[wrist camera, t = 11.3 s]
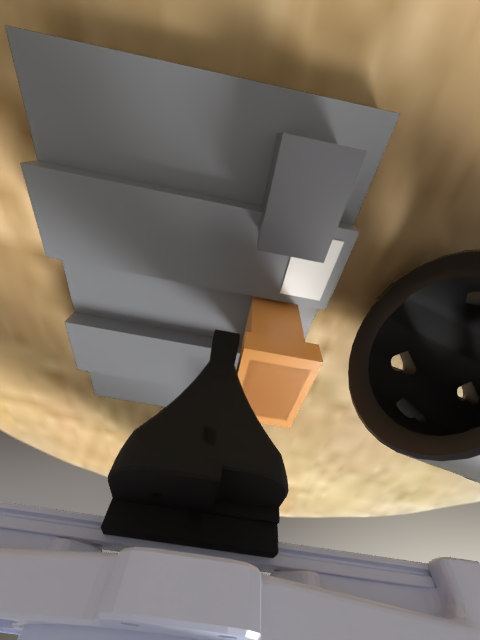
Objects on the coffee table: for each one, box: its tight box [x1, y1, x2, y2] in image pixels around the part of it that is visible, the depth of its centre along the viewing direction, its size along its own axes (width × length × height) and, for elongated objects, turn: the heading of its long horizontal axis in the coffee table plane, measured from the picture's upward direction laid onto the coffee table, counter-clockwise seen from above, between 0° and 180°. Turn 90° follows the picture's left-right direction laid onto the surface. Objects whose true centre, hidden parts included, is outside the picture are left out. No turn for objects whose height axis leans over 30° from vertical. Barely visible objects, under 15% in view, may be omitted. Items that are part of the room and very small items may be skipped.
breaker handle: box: [236, 296, 323, 428], centre depth 13 cm, size 4×3×5 cm
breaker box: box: [5, 25, 400, 424], centre depth 14 cm, size 20×14×6 cm
